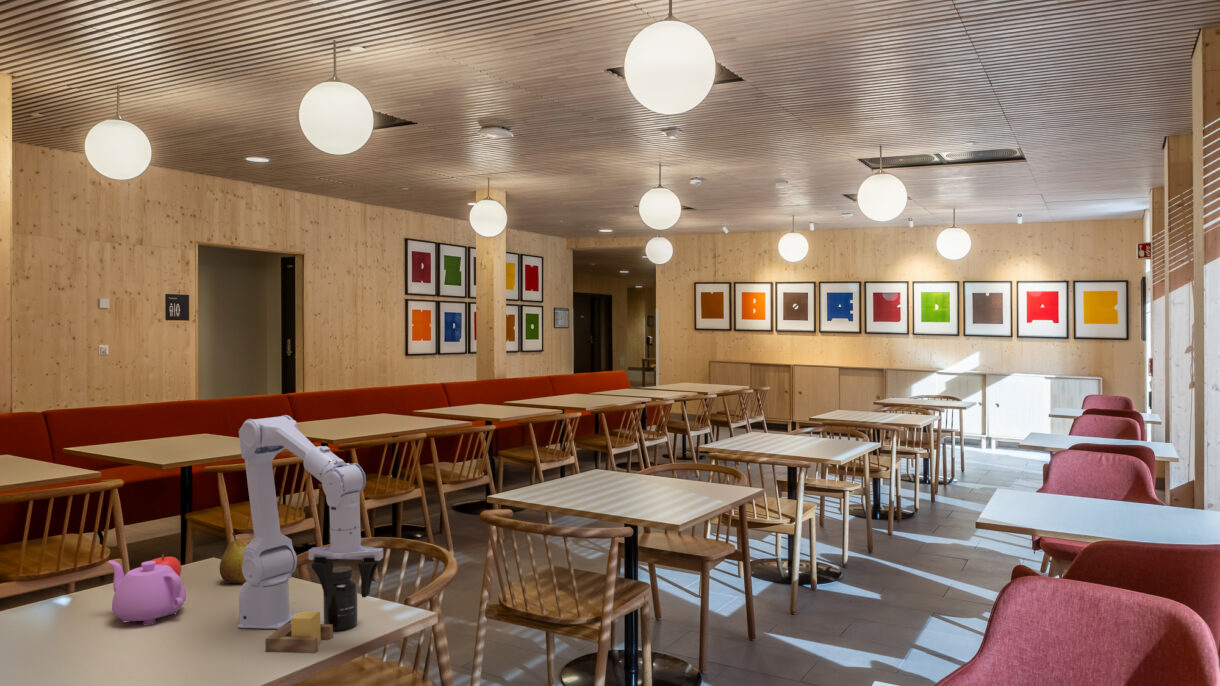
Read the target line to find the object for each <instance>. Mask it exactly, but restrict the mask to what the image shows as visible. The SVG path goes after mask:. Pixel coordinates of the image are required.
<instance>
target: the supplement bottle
mask: <svg viewBox="0 0 1220 686" xmlns="http://www.w3.org/2000/svg"><path fill="white" fill-rule="evenodd" d="M352 578H353V568H352V567H351V566H345V565H344V566H335V567H333V573H332V581H333V591H332V594H331V595H329V596H328V597H325V596H324V592H323V624H331V625H333V632H339V631H347V630H351V629H352V628H354V627H356V625H357V624H358V620H359V618H358V611H359V610H358V584H357V582H356V581H355V580H354V579H352Z"/></svg>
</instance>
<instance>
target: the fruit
mask: <svg viewBox="0 0 1220 686" xmlns="http://www.w3.org/2000/svg"><path fill="white" fill-rule="evenodd" d="M231 534H232V536H233V540H232V541H230V542H229V543H228V544H227V547H226V548H225V551H224V553H223V555H222V557H221V559H220V563H219V574H220V576H221V578H222V580H223V581H224V582H225V583H227V584H231V585H232V584H235V585H237V584H240V585H241V584H242V585H243V584H244V583H245V582H247V581H246V579H245V578H244V576H243V572H242V564H243V550H244V548H245V547H246V546H247V545H248V544H249V543H247V542H246V541H245V540H243V539H241V538H240V539H239V538H237V537H236V534H235V532H231Z"/></svg>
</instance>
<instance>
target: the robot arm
mask: <svg viewBox="0 0 1220 686" xmlns="http://www.w3.org/2000/svg"><path fill="white" fill-rule="evenodd" d="M238 437H239V446H240V452H241V453H240V454H241V458H242V459H243V460H244V465H245V473H246V480H247V481H246V482H247V489H248V496H249V497H248V499H249V505H250V513H251V522H252V530H253V539H252V540H251V541H249V543H247V544H248V545H247V546H246V547H245V548H244V550H243V564H242V572H243V576H244V578H245V579H246V581H247V582H245V583H243V584H242V585H241V587H240V590H239V595H238V611H239V612H238V613H239V623H238V624H237V628H238V629H266V630H267V629H268V630H269V629H272V630H273V629H274V630H275V629H276V630H278V629H279V628H281V627H282V626H283V625H285V624H289V622H290V623H291V618H292V617H294V616H295V615H297V614H298V613H295V612H292V613H291V612H290V595H289V594H290V593H289V591H290V588H289V585H290V584H289V579H292V574H293V573H294V572H296V571H295V570H296V568H297V565H298V564H297V563H298V557H297V552H296V551H295V550H294V547H293V542H292V541H293V540H292V539H291V538H290V537H288V536H286V535H284V534H283V533H282V531H281V525H280V517H279V511H278V510H279V509H278V501H277V495H276V494H277V493H276V486H275V485H276V484H275V477H274V470H273V460H274V458H275V457H276V456H277V455H278V454H279V453H280V452H282V451H283V450H284V449H286V450H288V451H289V452H290V453H291V454H293V455H295V456H296V457H298V458H300V459H301V460H302V461H303V467H304V470H306V471H307V472H308V473H309V474H311V475H312V476H313V478H316V480H318V481H319V482H320V483H321V485H322V490H323V493H324V494H325V497H326V503H327V506H329V536H330V539H329V541H330V542H329V543H330V546H321V547H320V546H319V547H317V546H316V547H314V546H313V547H312V548H310V549H308V560H309V561H310V560H311V561H313V562H312V563H311V568H312V570H313V571H314V573H315V575H316V576H317V578H318V581H319V582H320V584H321V585H320V586H321V588H322V591H323V592H324V596H325V597H328V596H329V595H331V594H332V591H333V581H332V573H333V568H334V563H335V560H362V561H360V562H359V563H358V564H357V566H358V570H359V574H360V575H359V576H360V581H361V582H360V587H361V591H360V594H361V597H362V598H366V597H368V596H369V595H370V592H371V591H370V590H371V586H372V581H373V580H374V579H373V578H374V575H375V572H376V570H377V567H378V566H379V563H380V561H382V559H383V558H384V548H383V547H371V546H364V545H362V538H361V537H362V536H361V535H362V534H361V530H362V529H361V500H360V499H361V498H360V497H361V495H360V494H361V492H362V491H363V490H364V489H365V486H366V483H367V478H366V477H367V476H366V473H365V471H364V470H363V468H362V466H360V463H355V462H354V463H349V462H347V463H346V462H345V461H344V460H343V459H342V458H340V457H339V456H338V455H336V454H335V453H333V452H332V451H331V448H330V447H328V446H327V445H325V446H322V445H319V446H315V444H314V443H312V441H311V440H310V439H308V438H307V436H305V435H304V434H303V433H302V432H301V431H300V430H299V428H298V422H297V421H296V420H295V419H293V417H291V416H290V415H287V414H284V415H281V416H273V417H264V418H256V419H253V418H248V419H246V420H245V421H244V422H243V424H242V426H241V427H240V429H239V430H238Z"/></svg>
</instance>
